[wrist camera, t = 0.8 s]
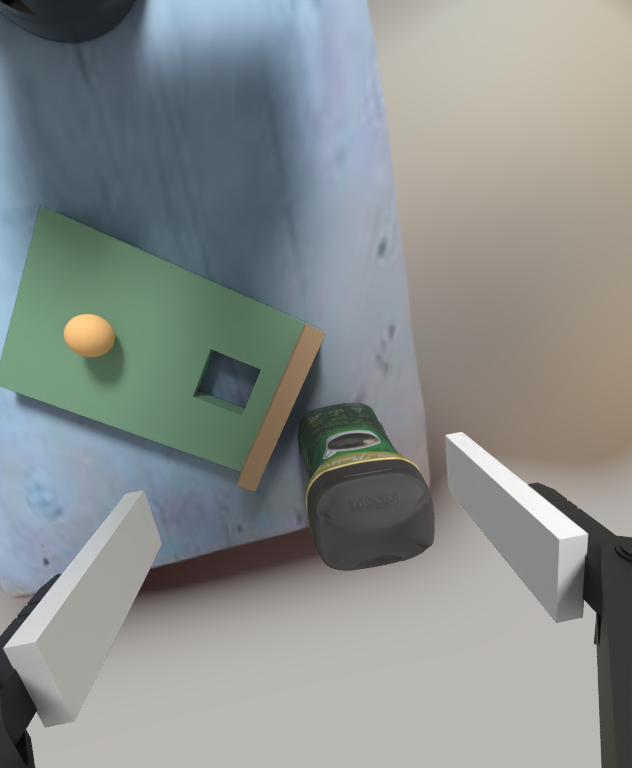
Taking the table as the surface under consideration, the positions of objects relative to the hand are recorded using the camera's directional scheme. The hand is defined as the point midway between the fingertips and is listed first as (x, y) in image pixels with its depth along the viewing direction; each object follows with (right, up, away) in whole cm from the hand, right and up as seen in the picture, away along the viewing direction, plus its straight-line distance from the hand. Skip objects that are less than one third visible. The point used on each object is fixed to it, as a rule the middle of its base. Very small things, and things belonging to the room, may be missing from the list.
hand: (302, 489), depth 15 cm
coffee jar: (+3, -1, +27) cm, 27 cm away
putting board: (-15, +8, +23) cm, 29 cm away
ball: (-20, +9, +17) cm, 28 cm away
